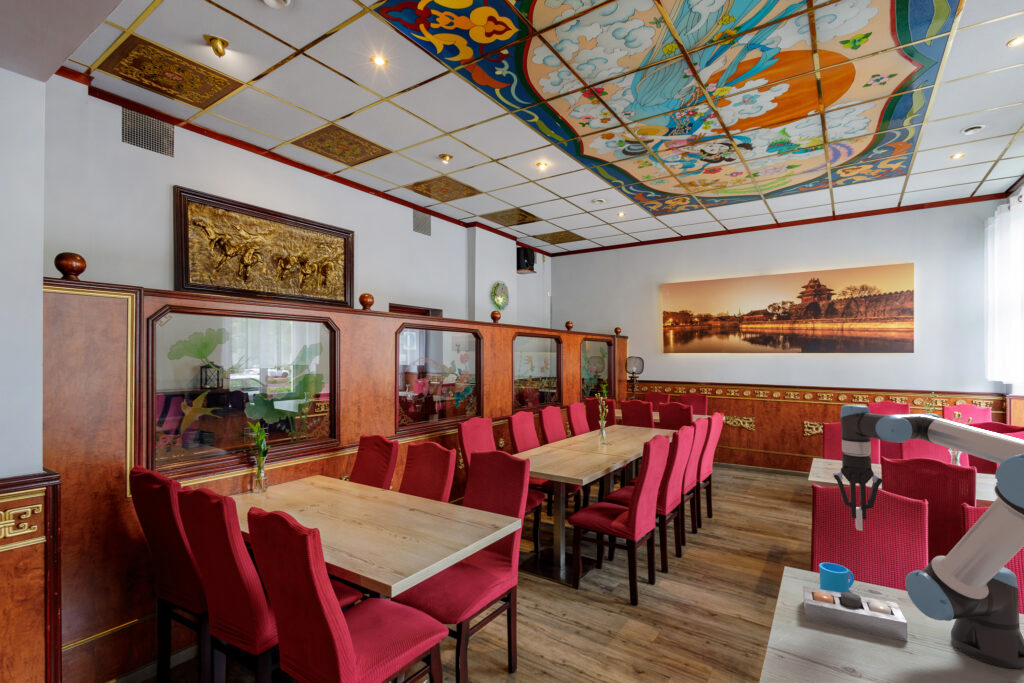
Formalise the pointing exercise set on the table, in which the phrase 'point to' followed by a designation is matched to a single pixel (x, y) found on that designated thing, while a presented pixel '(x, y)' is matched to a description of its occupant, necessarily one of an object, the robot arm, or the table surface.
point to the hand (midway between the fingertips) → (859, 528)
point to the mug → (835, 577)
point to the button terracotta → (823, 597)
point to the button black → (850, 600)
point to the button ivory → (879, 608)
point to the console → (855, 615)
